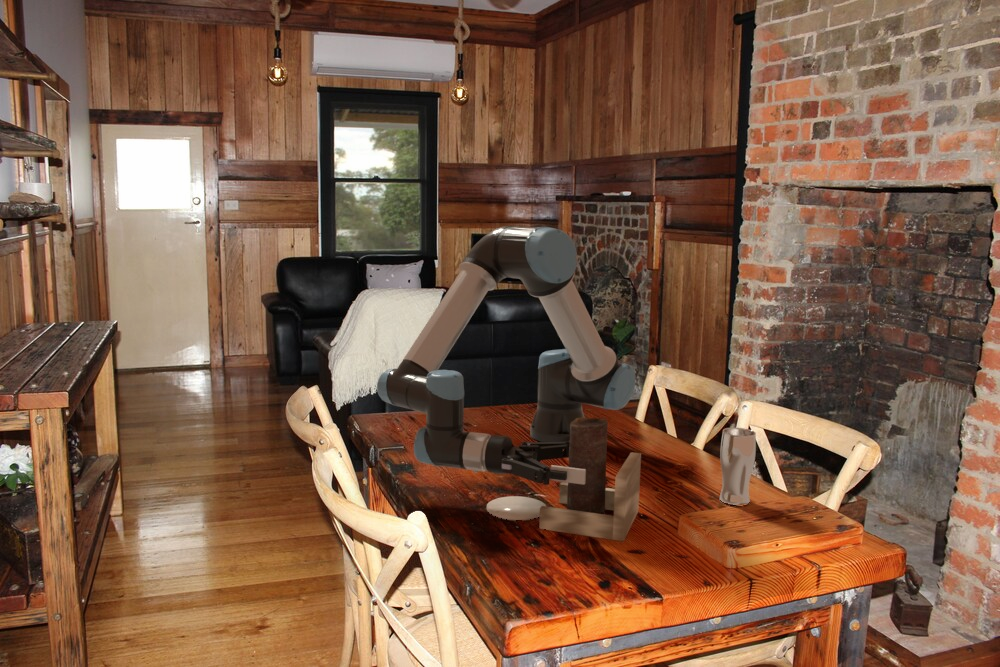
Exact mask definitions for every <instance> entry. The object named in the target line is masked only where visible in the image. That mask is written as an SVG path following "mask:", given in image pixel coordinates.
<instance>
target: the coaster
mask: <svg viewBox="0 0 1000 667" xmlns="http://www.w3.org/2000/svg"><path fill="white" fill-rule="evenodd" d="M541 506H547V505H546V504H545V503H544V502H543V501H541V500H538V499H537V498H534V497H533V498H532V497H528V496H521V495H520V496H517V495H515V496H514V495H511V496H501V497H497V498H495V499H492V500H490V501H488V503H487V504H486V512H487V513H488V512H489V513H488V514H490V515H491V514H492V515H491V516H493V517H495V516H496V517H495V518H497V517H498V518H497V519H501V518H502V520H506V519H507V520H508V521H516V520H522V521H531V520H535V519H534V518H536V519H539V518H540V508H541ZM538 517H539V518H538ZM530 519H531V520H530ZM507 520H506V521H507Z"/></svg>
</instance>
